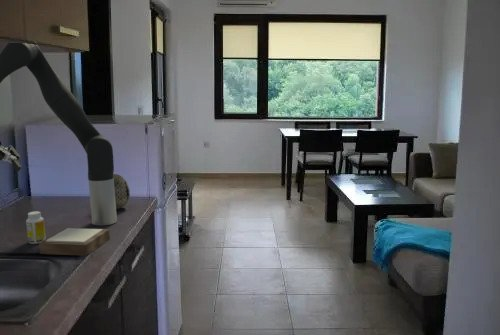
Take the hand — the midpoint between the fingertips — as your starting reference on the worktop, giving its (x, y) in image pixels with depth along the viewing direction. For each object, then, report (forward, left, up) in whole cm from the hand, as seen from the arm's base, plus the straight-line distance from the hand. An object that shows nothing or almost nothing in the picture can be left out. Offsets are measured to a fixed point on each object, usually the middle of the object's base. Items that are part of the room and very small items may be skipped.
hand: (8, 171), depth 168 cm
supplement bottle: (+4, +11, -24) cm, 26 cm away
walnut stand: (+7, +27, -23) cm, 36 cm away
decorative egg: (-40, +20, -24) cm, 51 cm away
